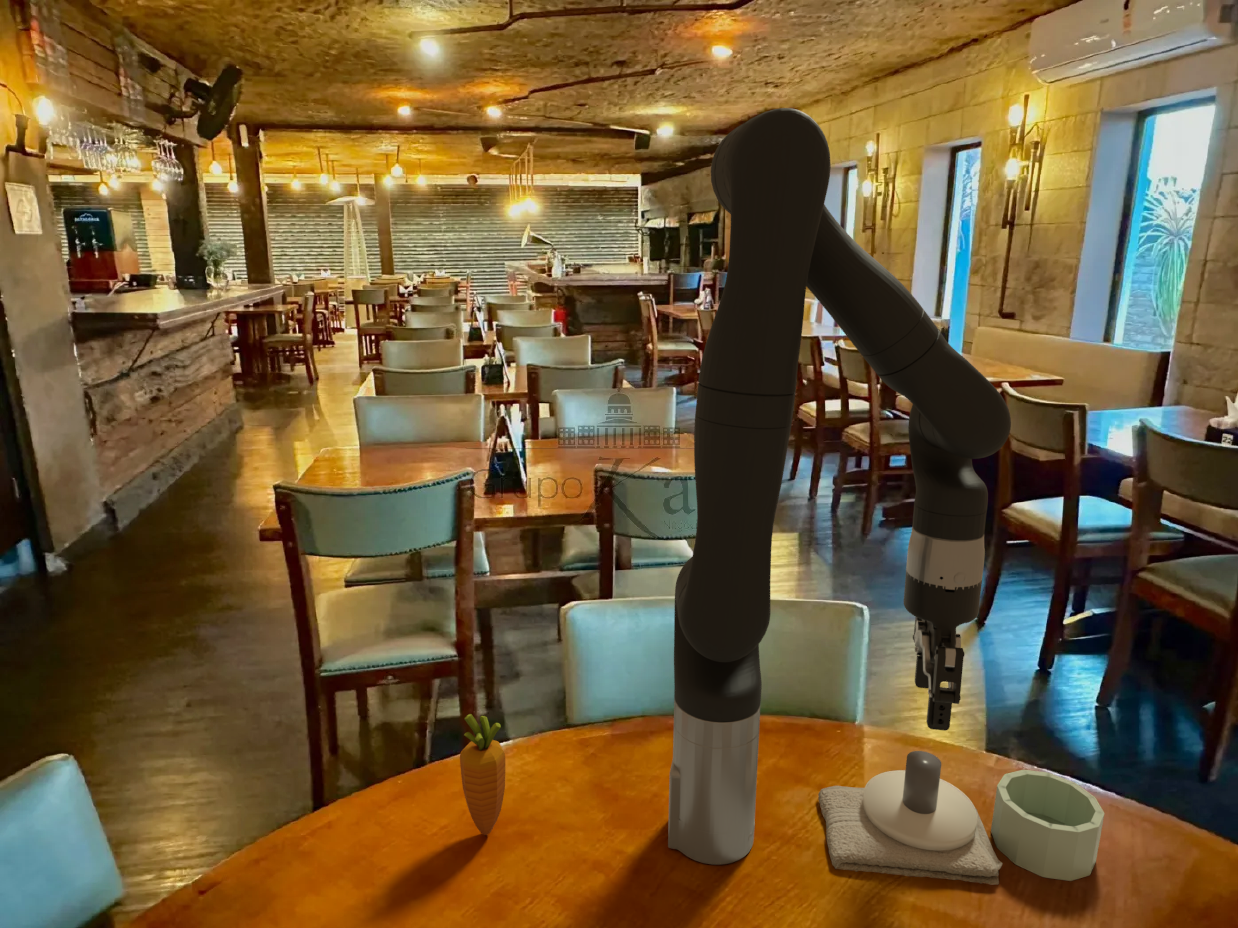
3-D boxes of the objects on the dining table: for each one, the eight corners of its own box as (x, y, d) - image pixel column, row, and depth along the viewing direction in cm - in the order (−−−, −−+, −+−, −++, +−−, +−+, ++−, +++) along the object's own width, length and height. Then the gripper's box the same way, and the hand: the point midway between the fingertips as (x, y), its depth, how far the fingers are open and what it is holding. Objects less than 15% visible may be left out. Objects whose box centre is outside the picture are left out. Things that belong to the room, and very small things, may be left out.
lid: (867, 841, 85) (872, 787, 83) (859, 772, 96) (863, 724, 95) (987, 858, 83) (995, 802, 81) (964, 786, 94) (970, 736, 92)
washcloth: (1006, 892, 82) (1010, 867, 82) (830, 876, 84) (832, 852, 84) (971, 815, 94) (974, 792, 93) (816, 803, 96) (818, 781, 95)
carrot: (517, 833, 89) (513, 715, 86) (481, 856, 86) (476, 734, 82) (489, 813, 93) (484, 698, 89) (454, 834, 89) (447, 716, 86)
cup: (1005, 871, 84) (1012, 823, 83) (983, 809, 94) (989, 765, 92) (1108, 886, 82) (1118, 837, 81) (1075, 821, 92) (1083, 776, 90)
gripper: (898, 545, 92) (888, 671, 96) (916, 594, 78) (904, 739, 82) (967, 549, 90) (954, 677, 94) (998, 600, 77) (981, 747, 81)
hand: (930, 706), depth 88 cm, fingers open, 8 cm apart
